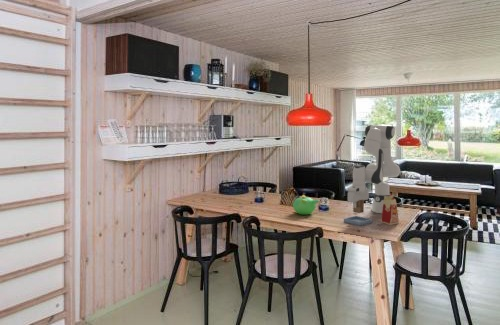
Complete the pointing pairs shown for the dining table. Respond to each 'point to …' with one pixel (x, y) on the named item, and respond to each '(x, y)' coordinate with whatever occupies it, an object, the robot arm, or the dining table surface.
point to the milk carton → (389, 211)
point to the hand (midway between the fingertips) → (358, 207)
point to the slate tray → (358, 220)
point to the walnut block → (359, 207)
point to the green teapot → (304, 205)
